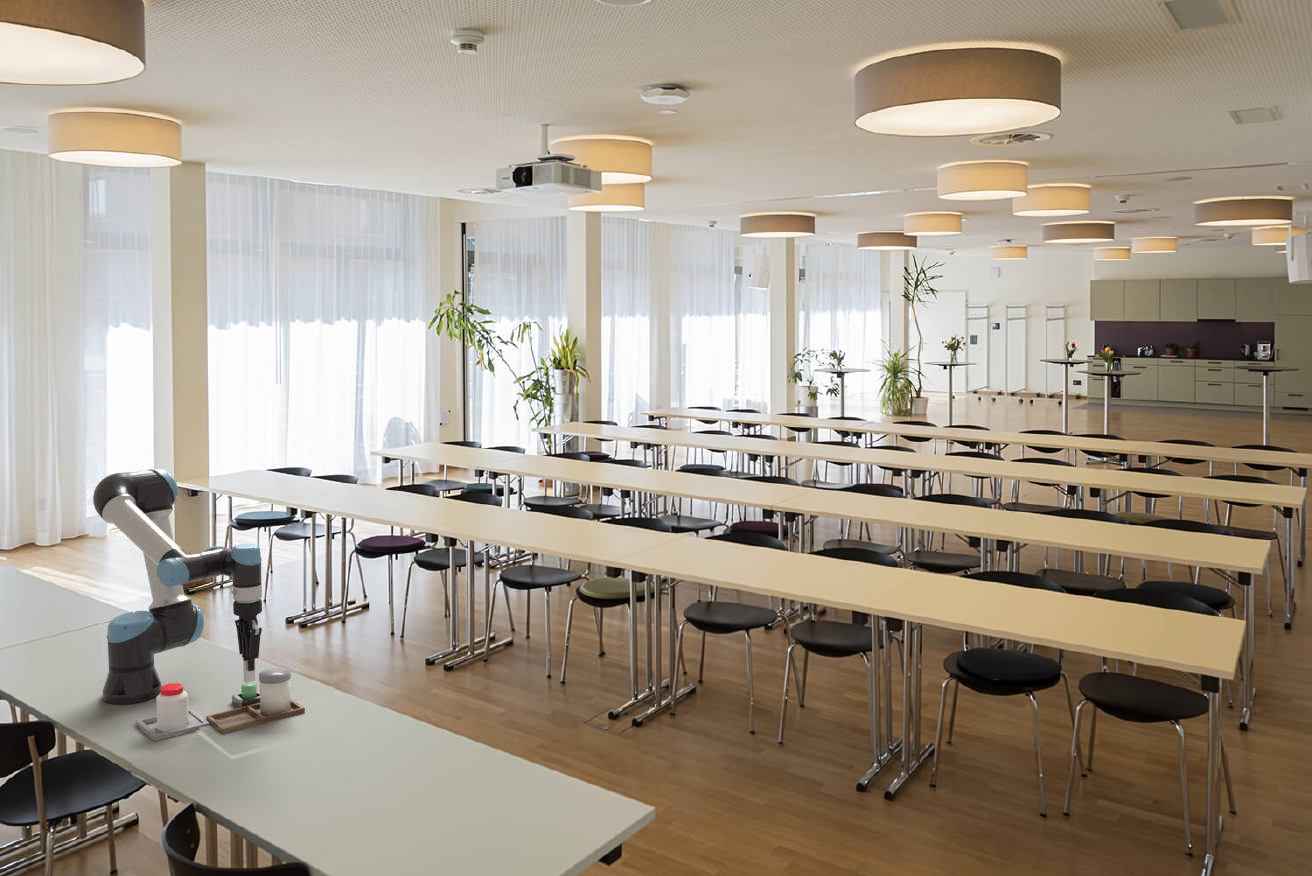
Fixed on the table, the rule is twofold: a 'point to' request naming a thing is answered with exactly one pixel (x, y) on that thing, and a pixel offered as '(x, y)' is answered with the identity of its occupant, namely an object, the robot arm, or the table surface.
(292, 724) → the table surface
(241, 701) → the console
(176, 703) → the pill bottle
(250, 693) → the button
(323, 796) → the table surface
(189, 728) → the tray
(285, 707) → the seated part
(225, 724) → the brown divided tray
